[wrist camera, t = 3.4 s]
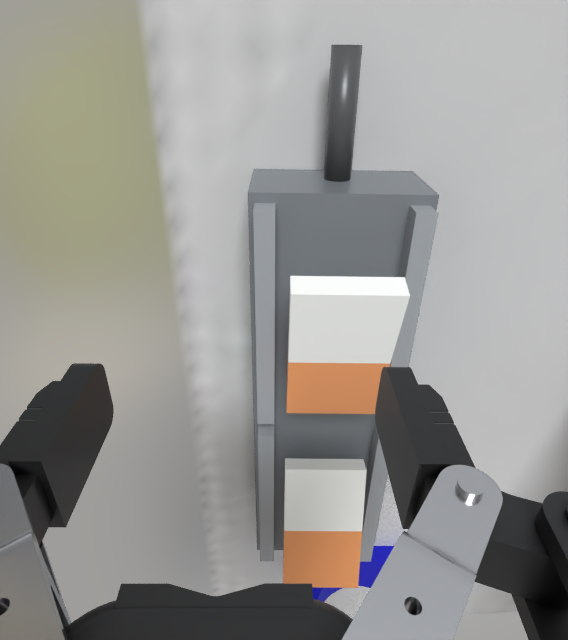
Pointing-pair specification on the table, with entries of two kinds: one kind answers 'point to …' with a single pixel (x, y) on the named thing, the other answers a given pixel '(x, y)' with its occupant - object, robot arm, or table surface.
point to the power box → (327, 260)
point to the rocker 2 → (323, 521)
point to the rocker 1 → (341, 341)
